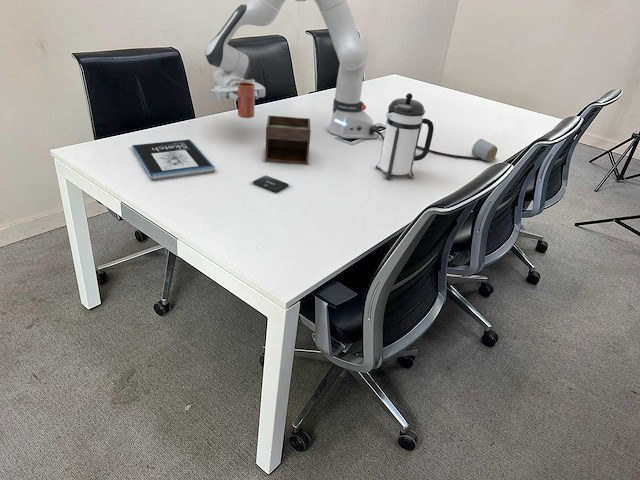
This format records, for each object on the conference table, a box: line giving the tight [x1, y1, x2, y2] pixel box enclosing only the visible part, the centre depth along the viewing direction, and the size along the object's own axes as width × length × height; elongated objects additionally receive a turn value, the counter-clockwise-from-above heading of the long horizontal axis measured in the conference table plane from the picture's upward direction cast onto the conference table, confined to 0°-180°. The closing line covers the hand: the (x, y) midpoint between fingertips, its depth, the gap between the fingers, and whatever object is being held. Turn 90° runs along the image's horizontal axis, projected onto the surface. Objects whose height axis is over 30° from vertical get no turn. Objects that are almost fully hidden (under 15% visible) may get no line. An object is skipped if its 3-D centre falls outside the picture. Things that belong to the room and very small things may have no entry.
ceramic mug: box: [471, 138, 498, 162], centre depth 196 cm, size 11×8×8 cm
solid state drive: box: [252, 174, 289, 193], centre depth 157 cm, size 7×10×1 cm
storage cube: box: [264, 114, 312, 165], centre depth 176 cm, size 16×13×14 cm
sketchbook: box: [131, 139, 216, 181], centre depth 166 cm, size 22×30×2 cm
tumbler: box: [237, 82, 256, 119], centre depth 179 cm, size 6×6×12 cm
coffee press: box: [375, 92, 435, 181], centre depth 168 cm, size 17×16×30 cm
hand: (247, 97), depth 178 cm, fingers closed on tumbler, 6 cm apart
